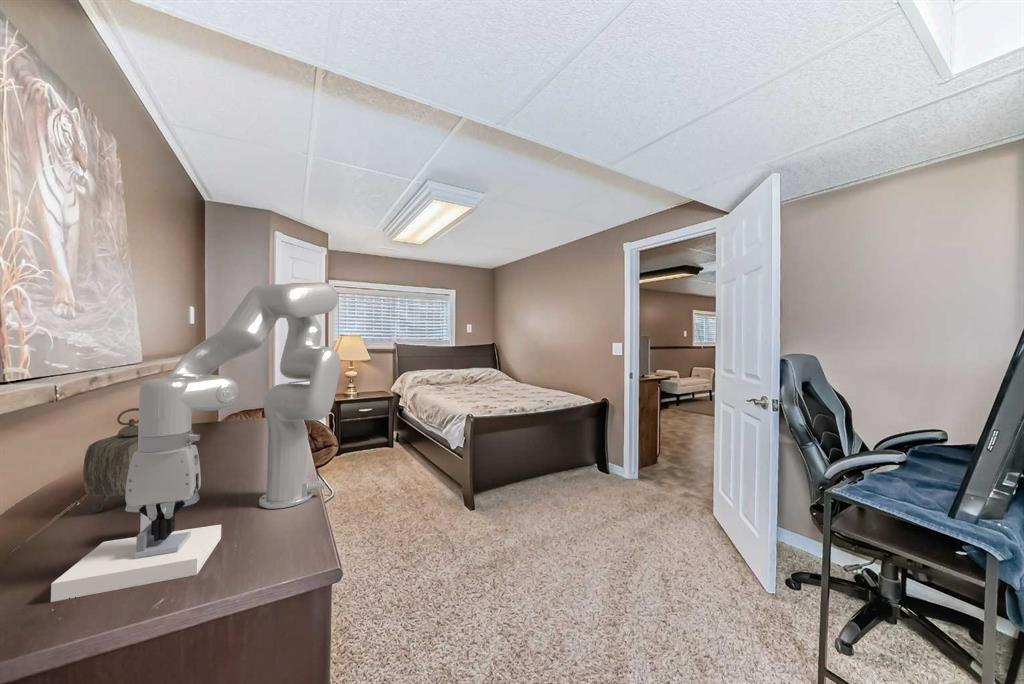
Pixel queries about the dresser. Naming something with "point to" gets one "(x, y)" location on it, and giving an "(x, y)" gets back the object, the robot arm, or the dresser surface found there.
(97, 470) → the tabletop clock
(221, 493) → the dresser surface
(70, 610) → the dresser surface
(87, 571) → the socket
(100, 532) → the dresser surface
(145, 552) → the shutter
